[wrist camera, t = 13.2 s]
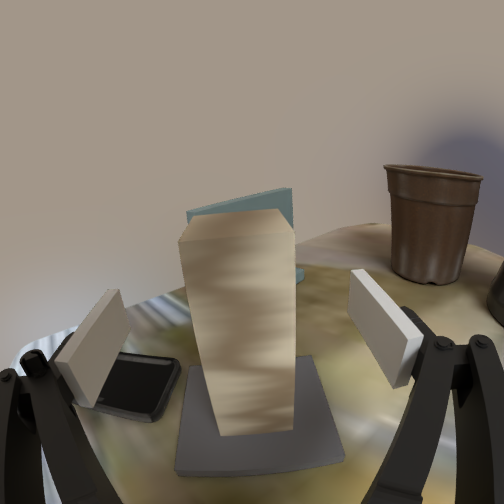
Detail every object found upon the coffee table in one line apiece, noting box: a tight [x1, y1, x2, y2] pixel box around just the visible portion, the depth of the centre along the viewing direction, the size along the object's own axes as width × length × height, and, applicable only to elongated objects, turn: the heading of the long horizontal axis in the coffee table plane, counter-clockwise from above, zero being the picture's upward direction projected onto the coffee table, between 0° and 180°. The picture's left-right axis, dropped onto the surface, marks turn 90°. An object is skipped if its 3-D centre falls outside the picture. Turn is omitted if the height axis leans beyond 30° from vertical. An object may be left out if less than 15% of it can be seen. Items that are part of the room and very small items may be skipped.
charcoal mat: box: [174, 355, 345, 477], centre depth 20 cm, size 11×11×1 cm
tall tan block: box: [178, 209, 296, 436], centre depth 17 cm, size 5×5×14 cm
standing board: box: [186, 188, 304, 284], centre depth 36 cm, size 5×16×13 cm, turn 137°
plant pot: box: [384, 165, 483, 285], centre depth 38 cm, size 16×16×16 cm
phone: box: [72, 352, 181, 423], centre depth 23 cm, size 8×1×15 cm
